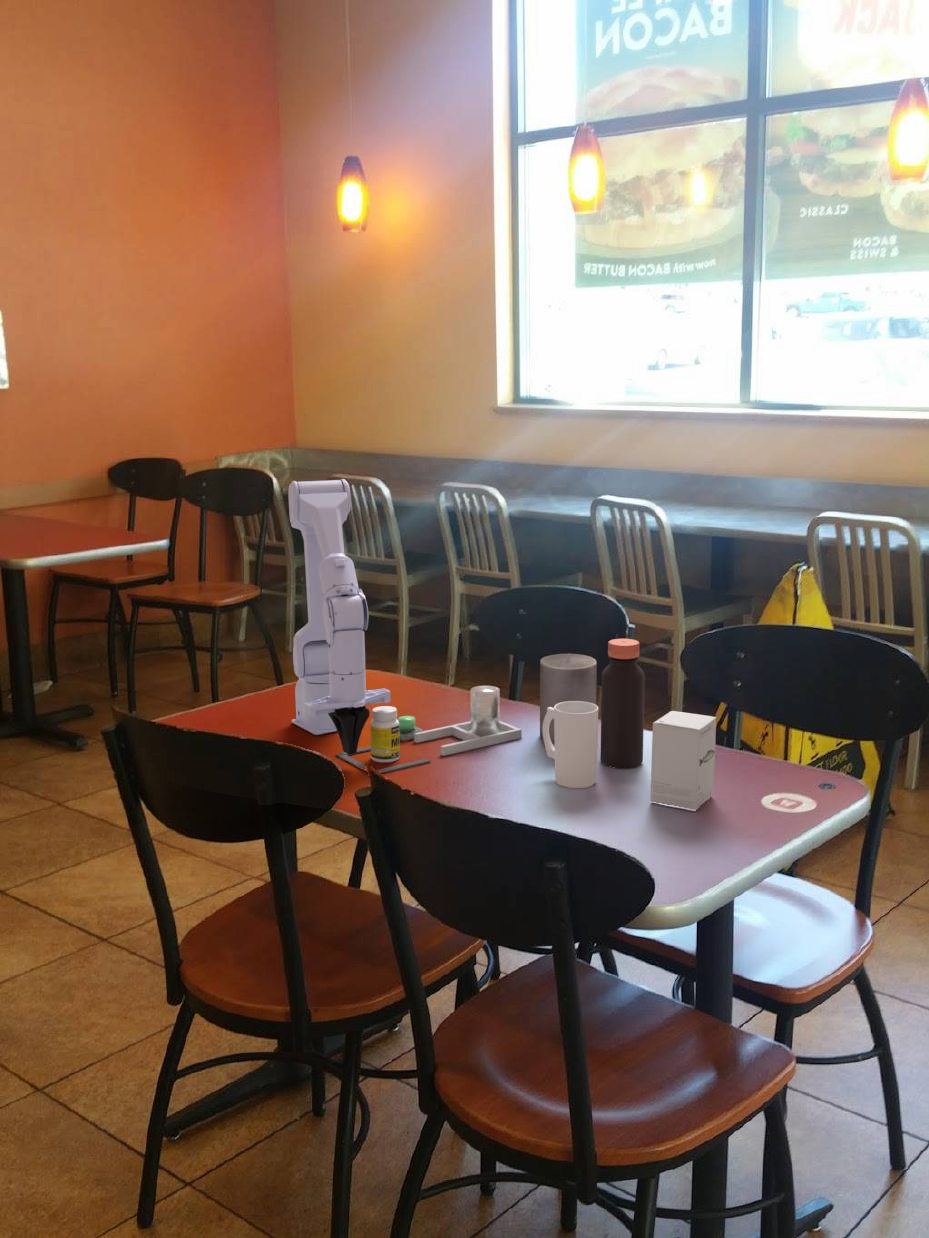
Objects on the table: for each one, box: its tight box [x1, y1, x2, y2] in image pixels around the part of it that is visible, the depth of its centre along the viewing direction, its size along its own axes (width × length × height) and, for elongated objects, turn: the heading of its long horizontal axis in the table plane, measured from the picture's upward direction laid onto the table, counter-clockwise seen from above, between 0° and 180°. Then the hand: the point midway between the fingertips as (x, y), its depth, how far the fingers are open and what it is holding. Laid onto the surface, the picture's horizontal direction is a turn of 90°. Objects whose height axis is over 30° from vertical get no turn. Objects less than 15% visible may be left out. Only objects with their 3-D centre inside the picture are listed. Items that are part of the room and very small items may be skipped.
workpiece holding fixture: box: [413, 720, 522, 757], centre depth 211 cm, size 9×16×2 cm, turn 124°
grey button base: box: [399, 725, 425, 742], centre depth 213 cm, size 4×4×1 cm
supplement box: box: [649, 710, 717, 809], centre depth 181 cm, size 7×7×13 cm
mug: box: [542, 701, 600, 789], centre depth 191 cm, size 10×7×12 cm, turn 45°
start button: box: [397, 715, 416, 732], centre depth 213 cm, size 3×3×3 cm
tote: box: [335, 745, 431, 774], centre depth 202 cm, size 12×11×1 cm
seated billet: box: [470, 685, 501, 737], centre depth 212 cm, size 5×5×8 cm
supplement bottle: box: [369, 705, 401, 763], centre depth 201 cm, size 5×5×8 cm
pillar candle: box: [539, 652, 598, 746], centre depth 210 cm, size 10×10×15 cm
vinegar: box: [600, 638, 646, 769], centre depth 197 cm, size 7×7×20 cm
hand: (349, 752), depth 198 cm, fingers closed
